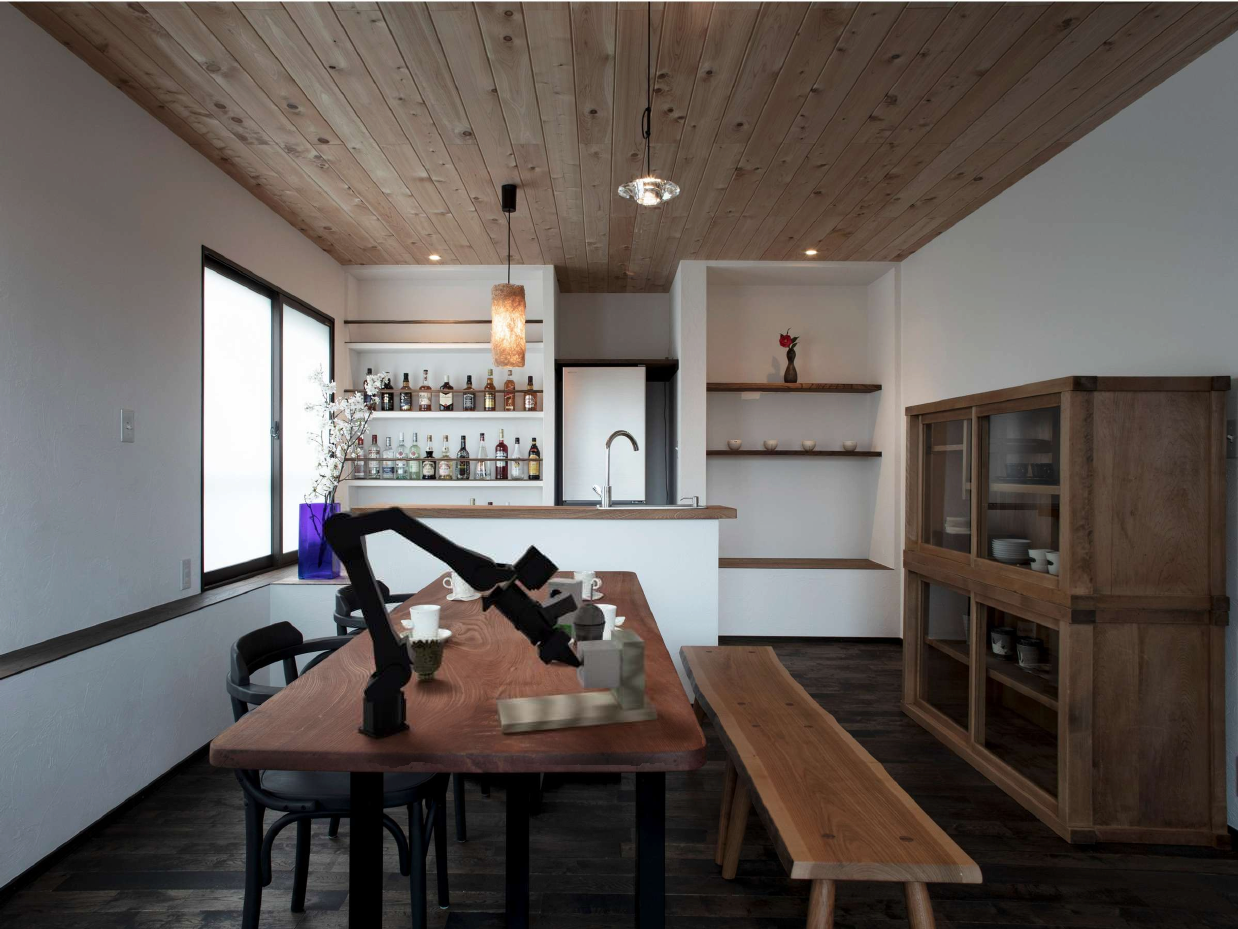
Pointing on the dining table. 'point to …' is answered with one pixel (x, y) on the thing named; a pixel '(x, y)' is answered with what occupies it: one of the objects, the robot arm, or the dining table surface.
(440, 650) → the cup
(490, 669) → the dining table surface
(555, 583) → the skincare box
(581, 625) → the beverage cup
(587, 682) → the grey cube
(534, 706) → the l-shaped wooden stand
